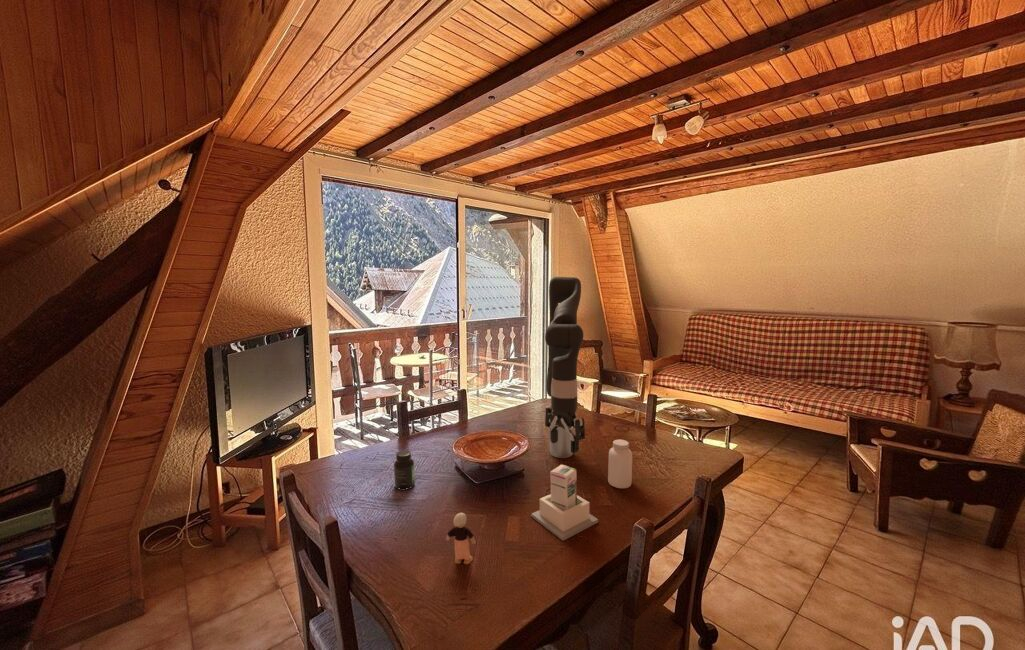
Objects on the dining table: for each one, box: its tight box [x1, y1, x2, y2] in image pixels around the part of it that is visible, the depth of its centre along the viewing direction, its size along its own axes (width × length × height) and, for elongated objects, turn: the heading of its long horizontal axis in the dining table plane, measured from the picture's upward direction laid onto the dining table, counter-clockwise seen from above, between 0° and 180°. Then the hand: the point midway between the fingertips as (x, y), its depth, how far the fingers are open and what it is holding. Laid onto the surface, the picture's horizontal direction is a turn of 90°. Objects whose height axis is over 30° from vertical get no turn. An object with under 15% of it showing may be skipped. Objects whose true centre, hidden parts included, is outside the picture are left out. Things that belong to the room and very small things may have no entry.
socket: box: [530, 493, 599, 542], centre depth 120 cm, size 14×14×6 cm
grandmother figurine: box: [445, 512, 477, 565], centre depth 103 cm, size 8×4×13 cm, turn 92°
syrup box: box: [549, 464, 578, 512], centre depth 119 cm, size 6×6×14 cm
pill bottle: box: [607, 439, 633, 489], centre depth 140 cm, size 8×8×15 cm
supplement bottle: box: [393, 449, 416, 489], centre depth 140 cm, size 7×7×12 cm
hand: (564, 447), depth 117 cm, fingers open, 8 cm apart
